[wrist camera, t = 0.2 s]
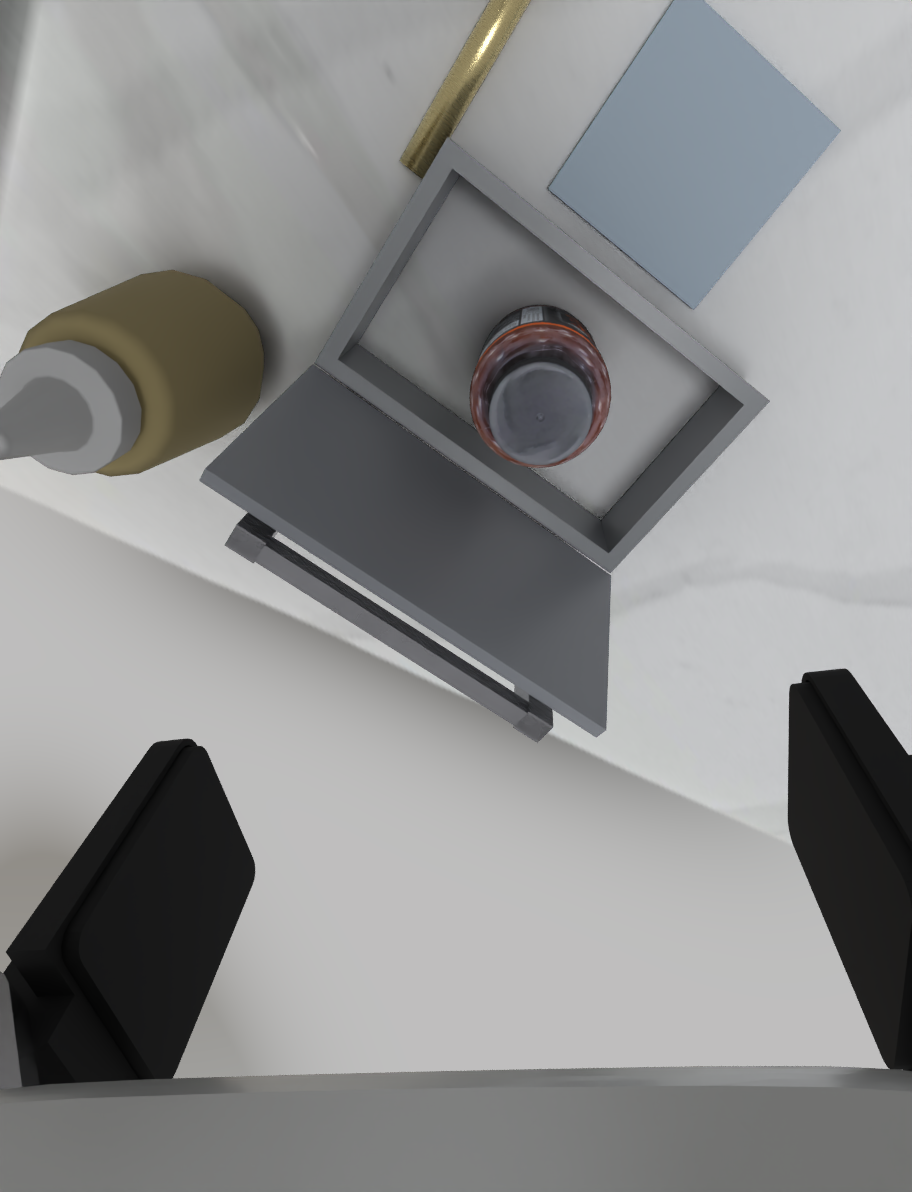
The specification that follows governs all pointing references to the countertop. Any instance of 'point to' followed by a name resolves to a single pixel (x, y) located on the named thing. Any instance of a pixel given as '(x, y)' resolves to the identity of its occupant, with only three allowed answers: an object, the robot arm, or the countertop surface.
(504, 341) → the supplement bottle
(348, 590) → the stay bracket
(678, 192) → the mat
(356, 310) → the case
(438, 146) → the rod
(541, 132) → the countertop surface
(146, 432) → the squeeze bottle
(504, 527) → the lid
